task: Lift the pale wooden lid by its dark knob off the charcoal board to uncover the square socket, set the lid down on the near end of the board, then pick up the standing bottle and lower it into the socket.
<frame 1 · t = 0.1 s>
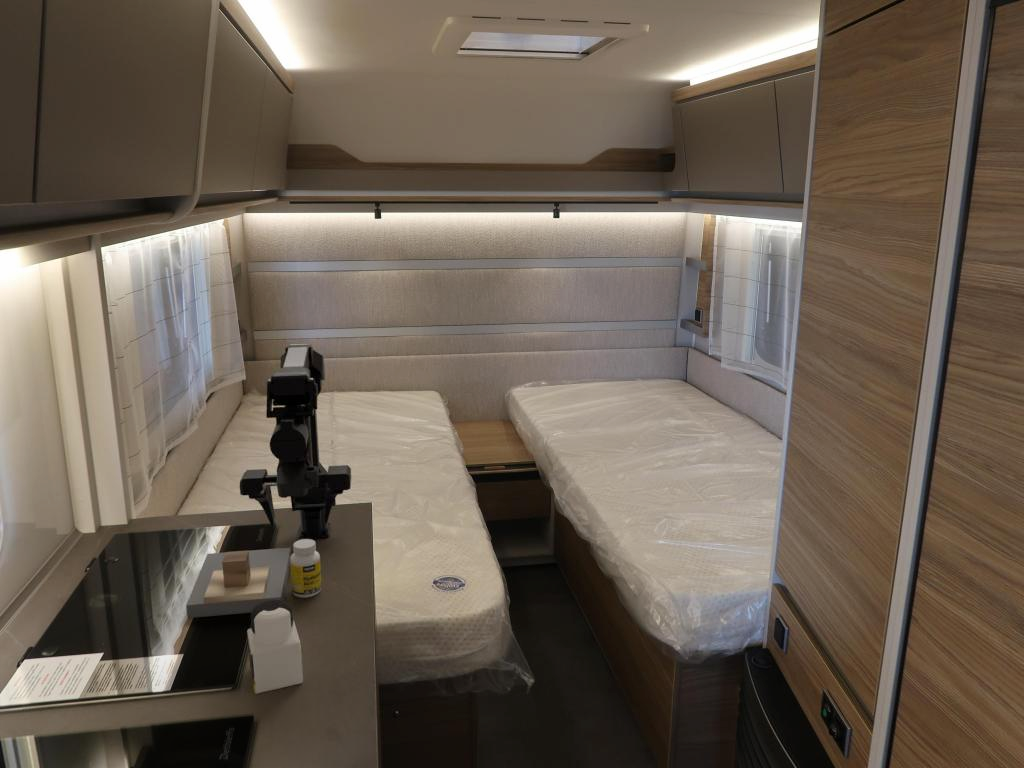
hand: (299, 524, 140), 15 cm above the table, tool pointing down, fingers open, 9 cm apart
lid: (238, 587, 142), point 2 cm above the table, touching board
board: (243, 586, 147), on the table
supplement bottle: (307, 592, 146), on the table
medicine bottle: (276, 677, 121), on the table
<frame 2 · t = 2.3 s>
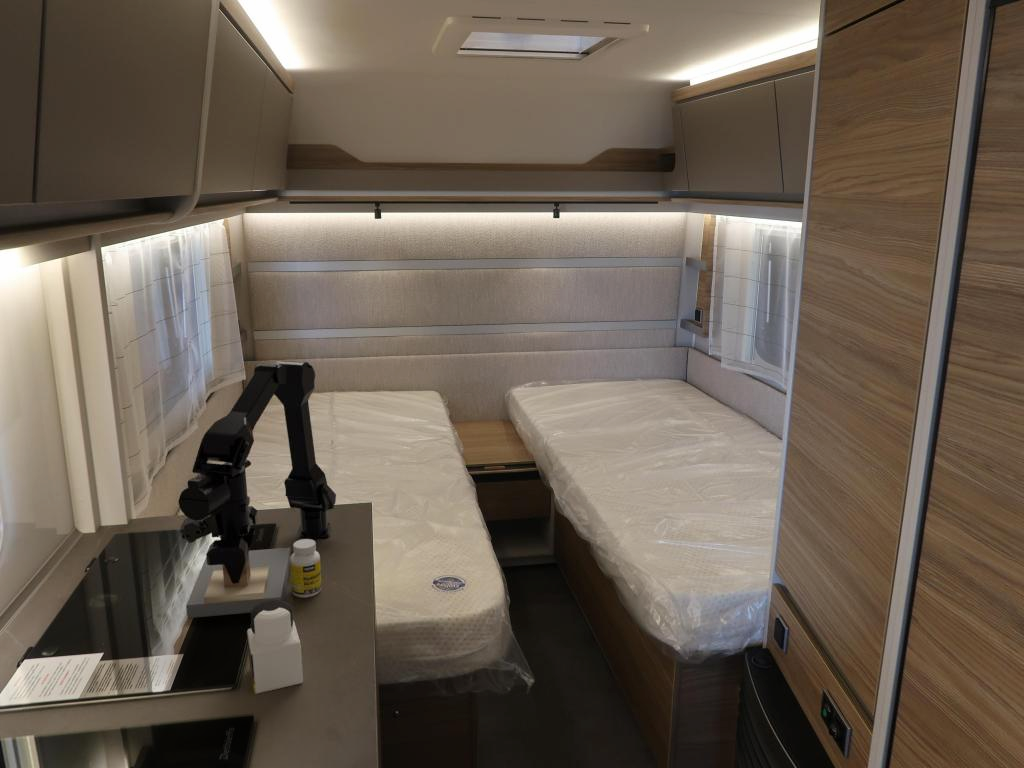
hand: (237, 577, 142), 5 cm above the table, tool pointing down, fingers closed on lid, 4 cm apart
lid: (238, 587, 142), point 2 cm above the table, touching board, gripper
everything else where it was.
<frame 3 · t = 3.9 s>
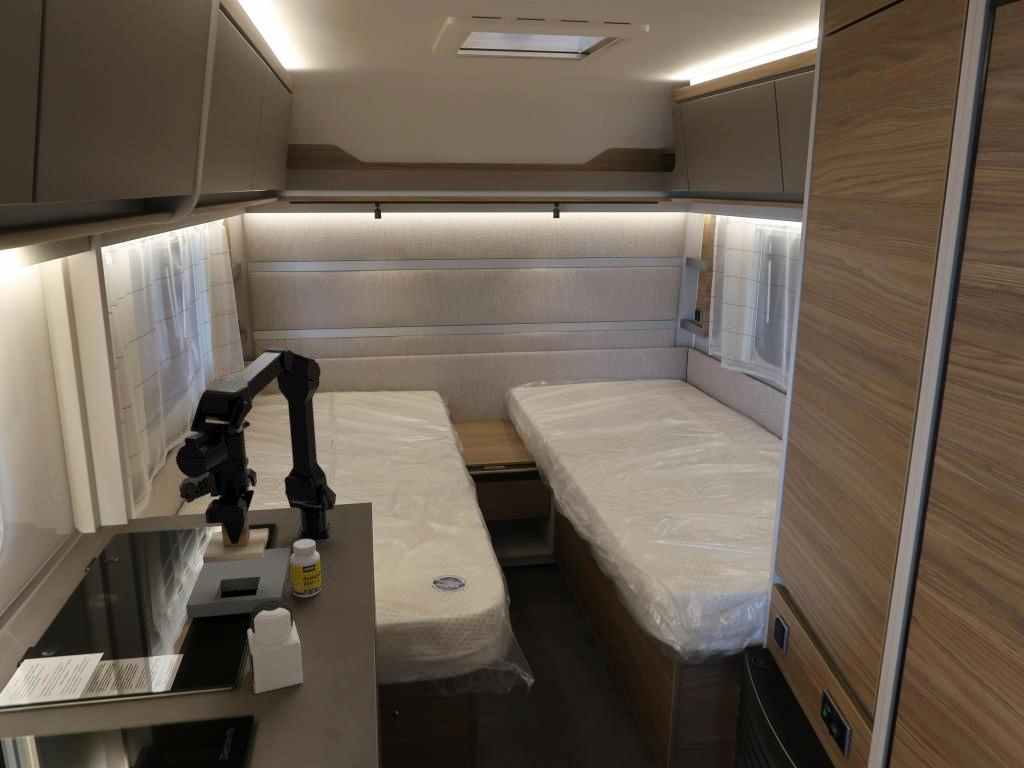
hand: (236, 538, 142), 11 cm above the table, tool pointing down, fingers closed on lid, 4 cm apart
lid: (237, 548, 142), point 9 cm above the table, touching gripper
everything else where it was.
when the fingers open (6 cm above the table, at t = 5.5 s): lid drops 1 cm, resting on board.
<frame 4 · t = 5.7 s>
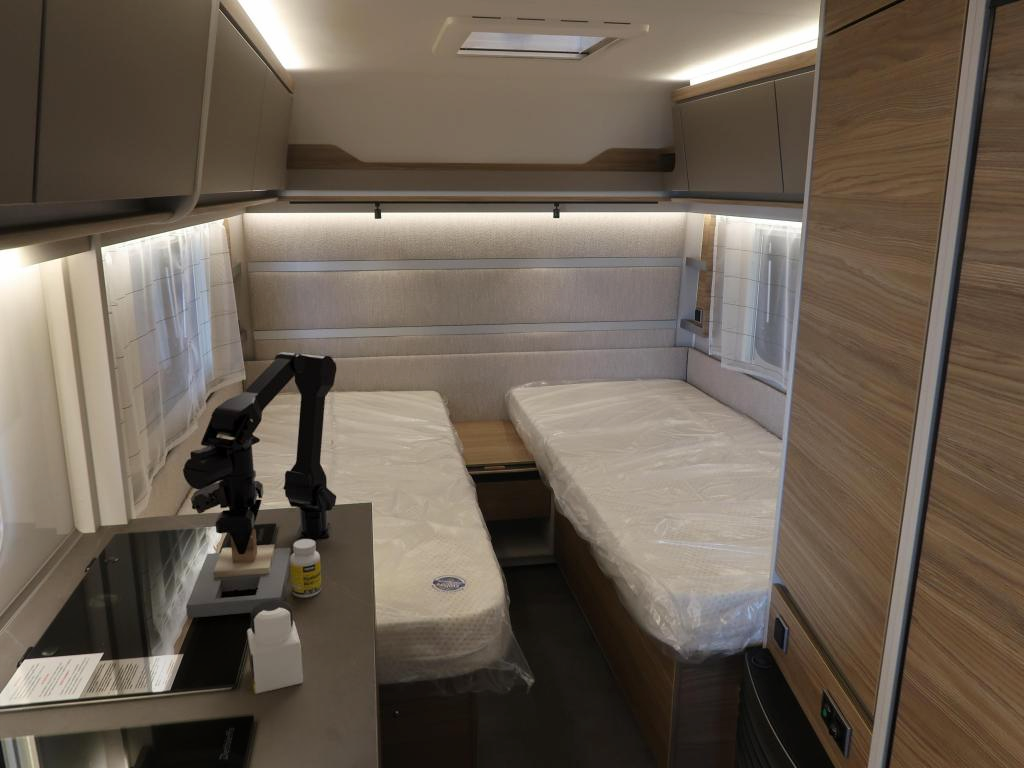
hand: (244, 546, 150), 6 cm above the table, tool pointing down, fingers open, 6 cm apart
lid: (245, 563, 151), point 2 cm above the table, touching board
everything else where it was.
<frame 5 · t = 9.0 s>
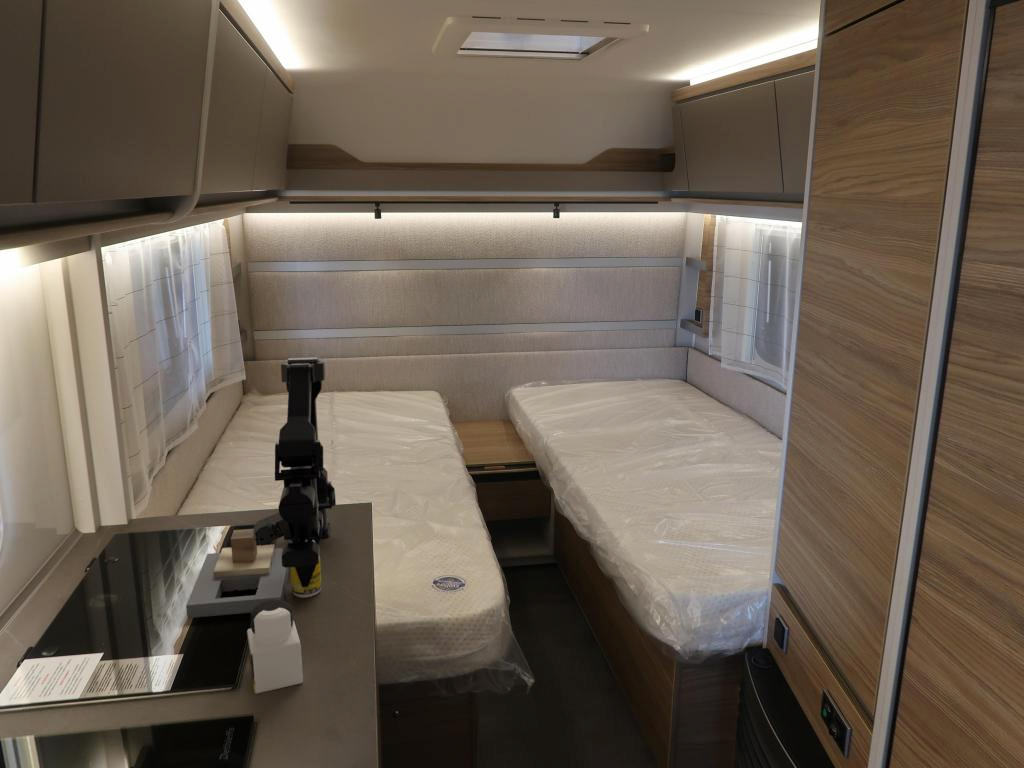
hand: (306, 578, 145), 3 cm above the table, tool pointing down, fingers closed on supplement bottle, 5 cm apart
supplement bottle: (307, 592, 146), on the table, touching gripper
everything else where it was.
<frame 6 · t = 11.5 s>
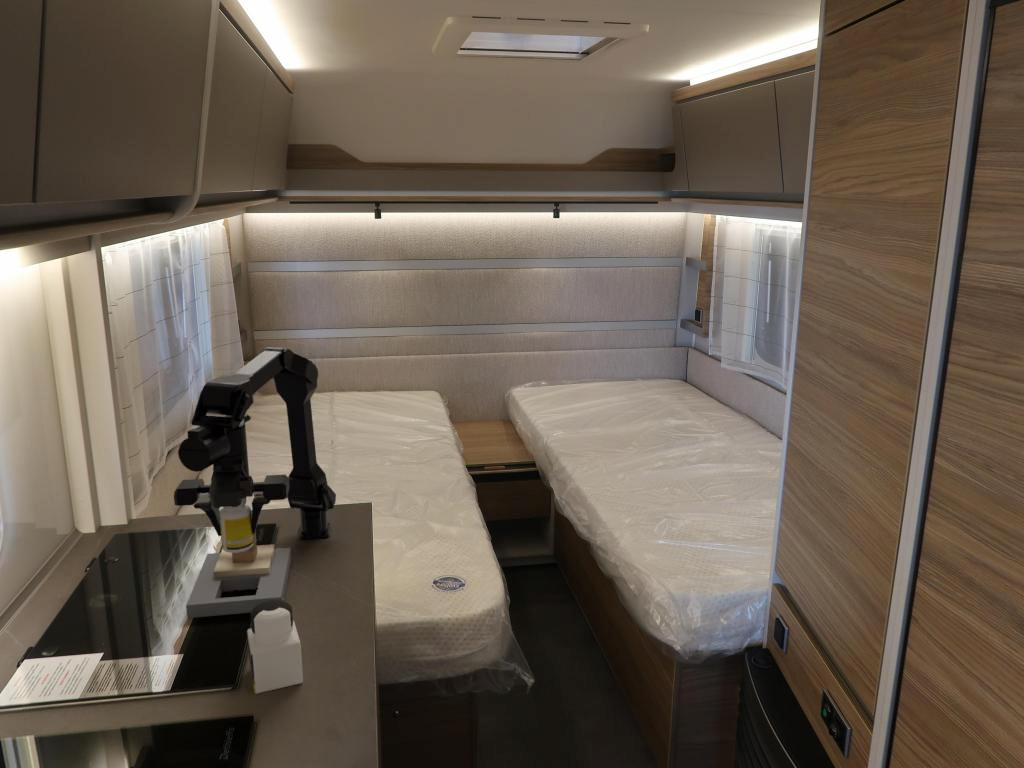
hand: (237, 534, 139), 13 cm above the table, tool pointing down, fingers closed on supplement bottle, 5 cm apart
supplement bottle: (238, 548, 140), point 10 cm above the table, touching gripper
everything else where it was.
when the fingers open (3 cm above the table, at t = 13.8 s): supplement bottle stays where it is, resting in board.
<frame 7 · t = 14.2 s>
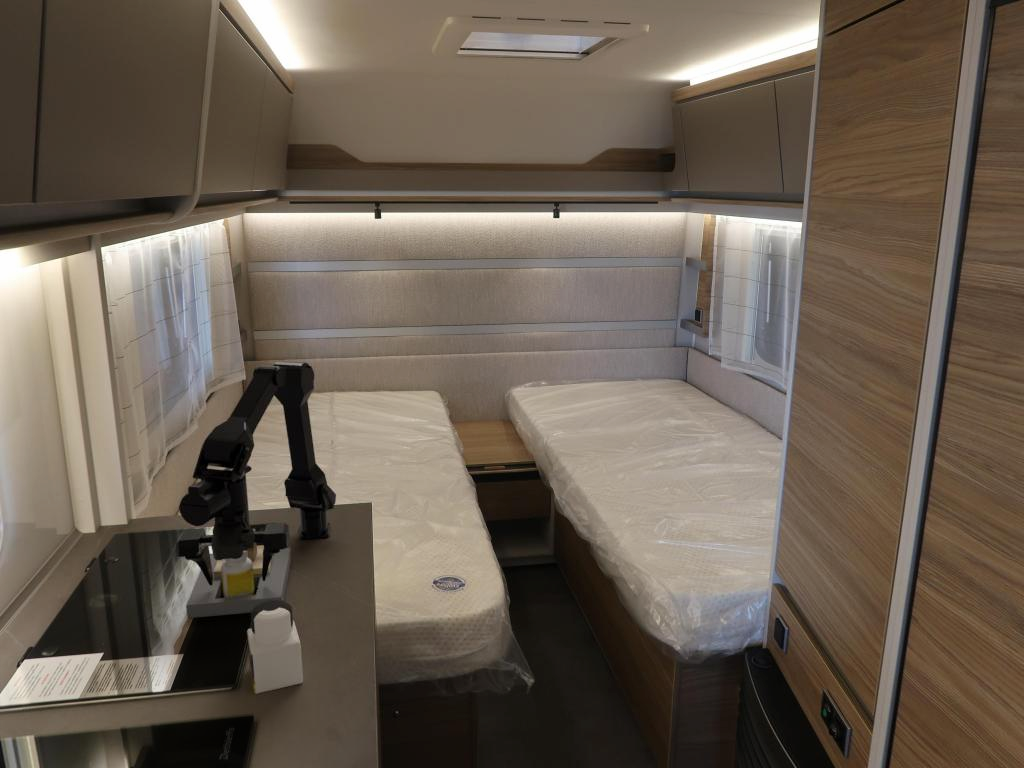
hand: (238, 582, 142), 3 cm above the table, tool pointing down, fingers open, 9 cm apart
supplement bottle: (239, 600, 143), resting in board
everything else where it was.
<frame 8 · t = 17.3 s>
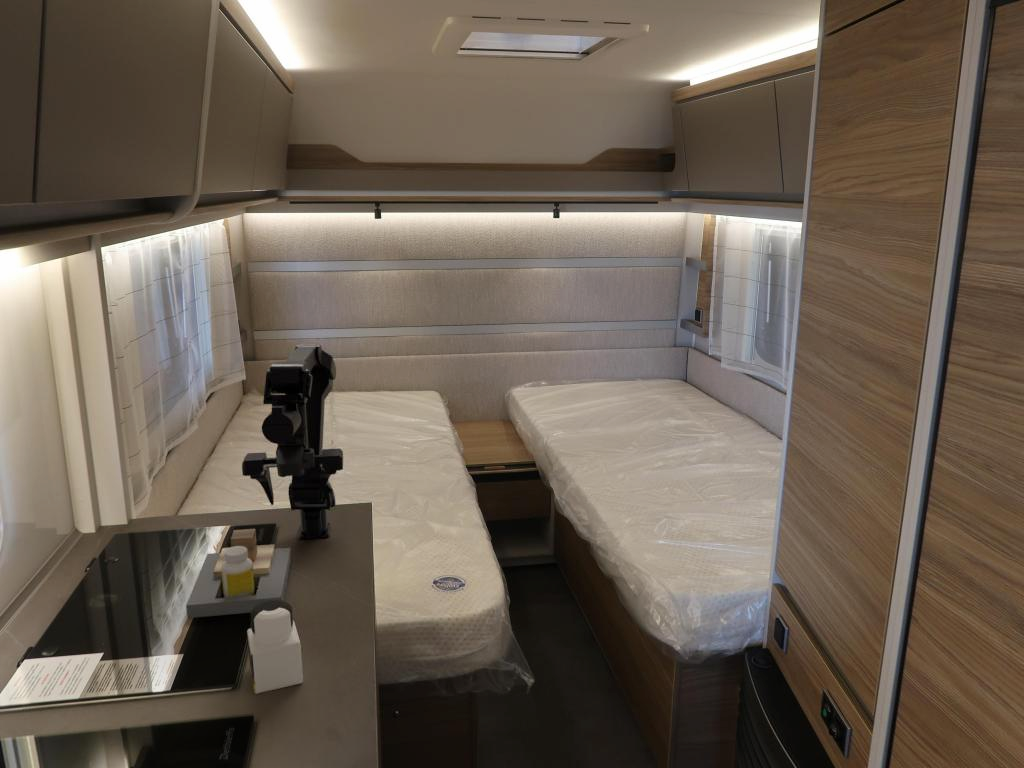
hand: (296, 502, 154), 13 cm above the table, tool pointing down, fingers open, 9 cm apart
nothing on the table moved.
at the end: supplement bottle 0.1 cm from the target spot on the board, point 0.0 cm above the board's base; supplement bottle tilted 0°; lid inside the target area on the board (0.5 cm from its centre), point 2.5 cm above the board's base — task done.
